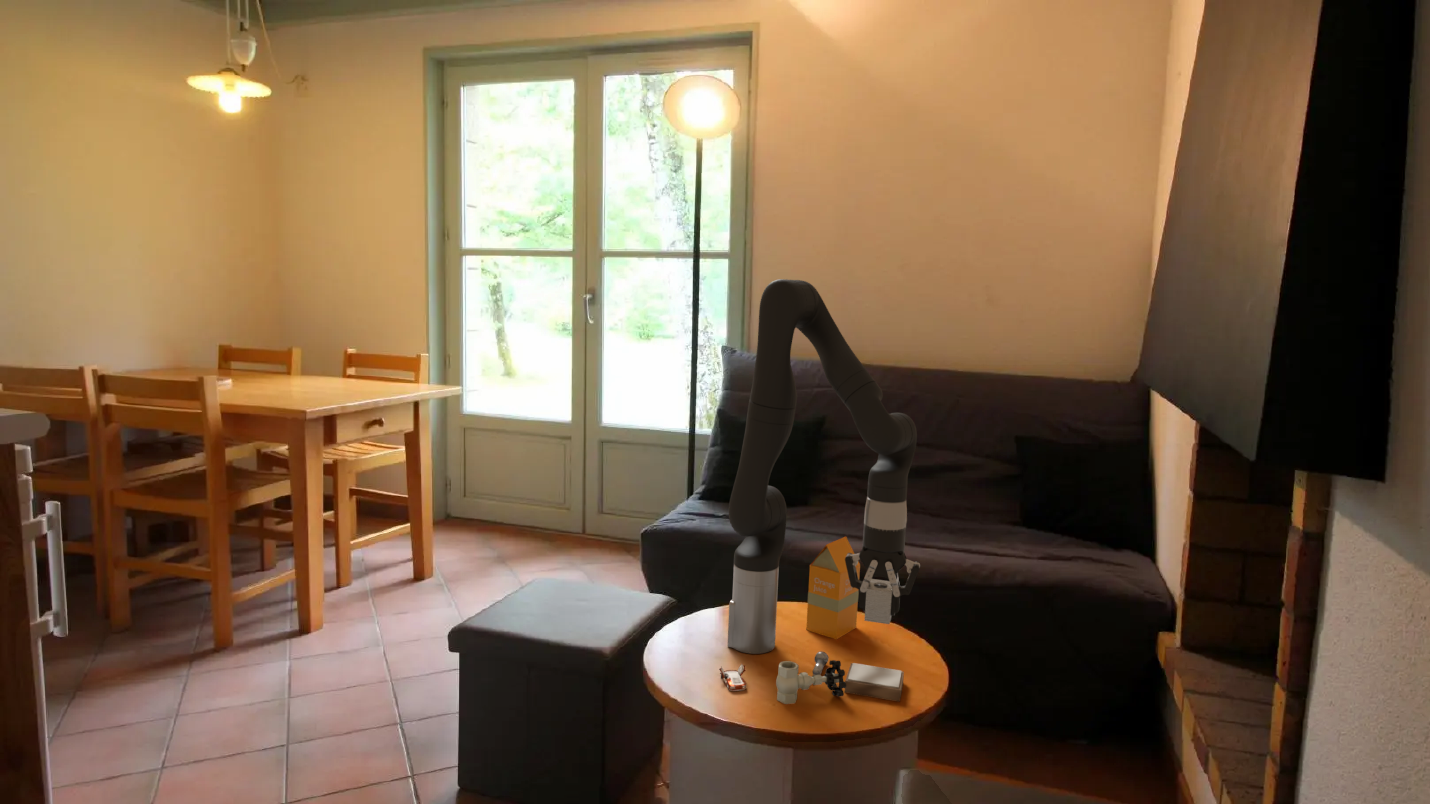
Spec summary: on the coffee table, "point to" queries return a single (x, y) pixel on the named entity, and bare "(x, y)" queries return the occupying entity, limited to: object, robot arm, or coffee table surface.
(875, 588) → the block
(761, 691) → the coffee table surface
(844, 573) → the orange juice
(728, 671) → the toy car
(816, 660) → the steel bolt
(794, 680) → the valve
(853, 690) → the stand
